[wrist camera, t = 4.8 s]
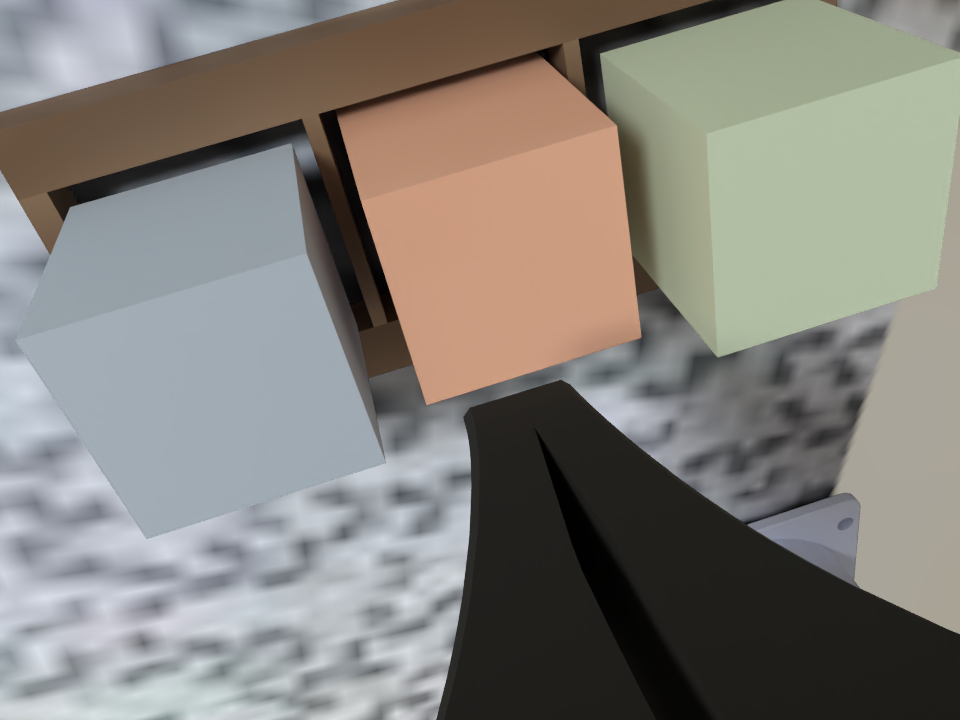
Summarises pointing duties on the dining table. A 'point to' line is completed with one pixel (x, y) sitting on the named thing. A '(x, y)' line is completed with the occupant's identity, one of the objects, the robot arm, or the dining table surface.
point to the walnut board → (295, 107)
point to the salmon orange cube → (496, 222)
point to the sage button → (784, 166)
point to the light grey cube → (204, 343)
